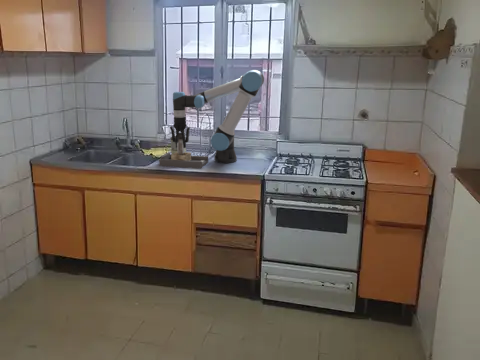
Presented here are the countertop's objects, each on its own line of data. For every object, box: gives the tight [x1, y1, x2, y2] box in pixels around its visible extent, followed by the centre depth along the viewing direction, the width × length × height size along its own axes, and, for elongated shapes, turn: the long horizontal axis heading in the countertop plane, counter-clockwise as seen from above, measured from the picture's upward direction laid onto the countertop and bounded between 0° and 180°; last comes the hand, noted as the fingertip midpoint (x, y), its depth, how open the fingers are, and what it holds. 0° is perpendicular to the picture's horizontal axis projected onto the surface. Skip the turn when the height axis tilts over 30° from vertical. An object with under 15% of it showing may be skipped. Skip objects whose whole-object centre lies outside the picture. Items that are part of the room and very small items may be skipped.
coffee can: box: [169, 135, 187, 154], centre depth 309 cm, size 10×10×14 cm
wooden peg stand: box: [171, 132, 192, 161], centre depth 290 cm, size 10×10×19 cm
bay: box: [158, 152, 209, 169], centre depth 292 cm, size 28×16×6 cm, turn 78°
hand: (181, 152), depth 291 cm, fingers closed on wooden peg stand, 3 cm apart
